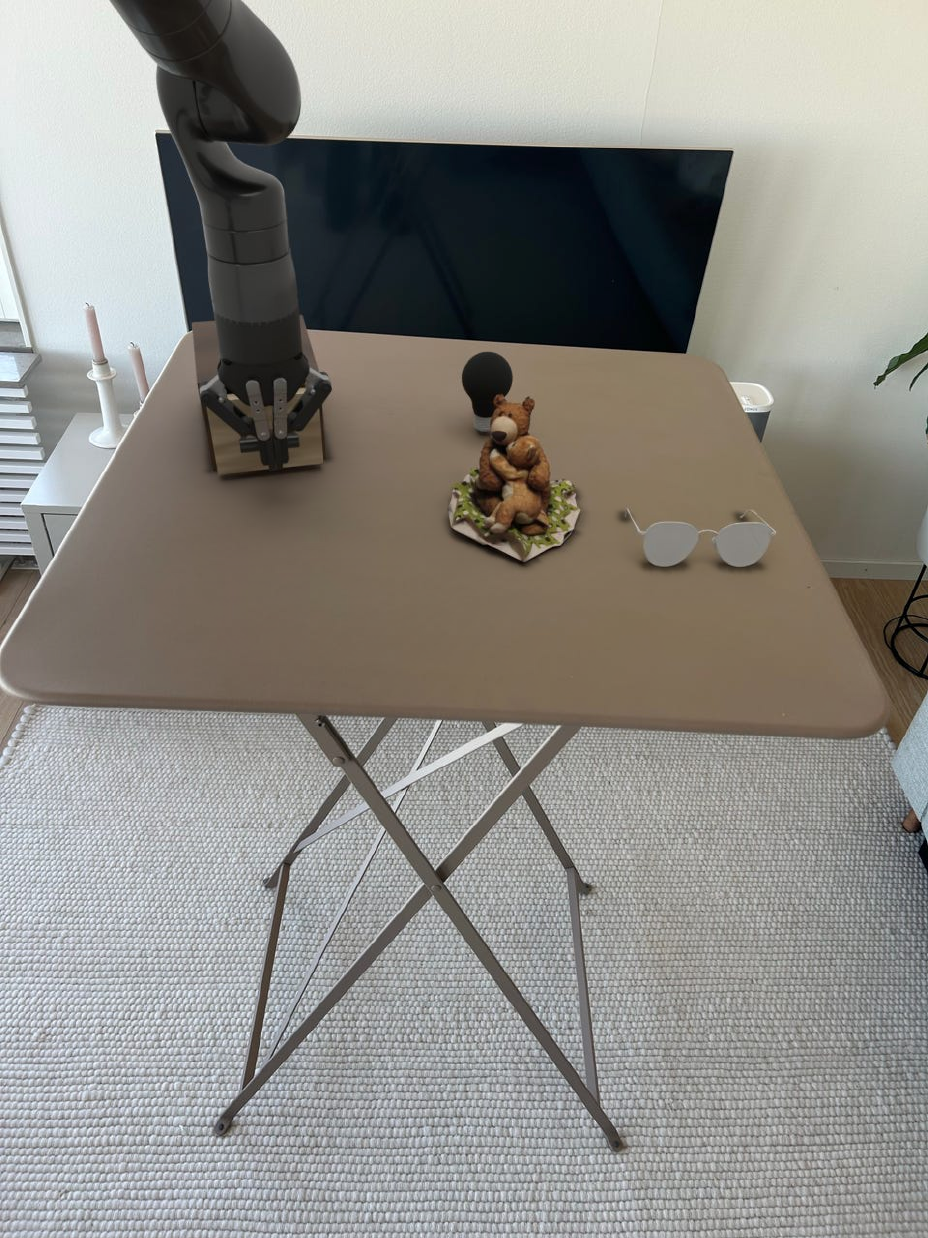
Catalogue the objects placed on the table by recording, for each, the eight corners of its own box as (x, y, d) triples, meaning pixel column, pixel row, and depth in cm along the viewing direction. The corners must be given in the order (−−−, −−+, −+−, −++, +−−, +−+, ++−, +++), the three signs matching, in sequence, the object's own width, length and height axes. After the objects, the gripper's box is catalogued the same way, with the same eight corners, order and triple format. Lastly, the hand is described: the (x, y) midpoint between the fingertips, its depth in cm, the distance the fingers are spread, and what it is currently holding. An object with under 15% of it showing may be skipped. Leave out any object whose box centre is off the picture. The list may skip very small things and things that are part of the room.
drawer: (329, 485, 95) (323, 412, 89) (220, 497, 93) (207, 423, 87) (307, 403, 107) (301, 335, 101) (211, 412, 105) (199, 342, 99)
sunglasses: (634, 566, 88) (641, 522, 86) (617, 527, 95) (623, 485, 93) (769, 567, 89) (780, 523, 86) (743, 528, 96) (752, 486, 93)
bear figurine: (423, 536, 91) (424, 432, 82) (481, 465, 101) (487, 366, 93) (547, 575, 87) (561, 470, 79) (594, 497, 97) (612, 397, 89)
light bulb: (512, 424, 108) (520, 347, 101) (501, 448, 103) (507, 370, 97) (466, 416, 109) (470, 339, 102) (453, 439, 104) (456, 361, 98)
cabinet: (326, 458, 100) (319, 372, 93) (212, 470, 98) (197, 383, 90) (309, 396, 111) (302, 314, 103) (206, 405, 108) (191, 322, 101)
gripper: (179, 324, 75) (211, 493, 86) (335, 313, 77) (345, 479, 89) (177, 288, 80) (207, 452, 92) (323, 279, 83) (334, 440, 94)
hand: (275, 465), depth 90 cm, fingers closed
